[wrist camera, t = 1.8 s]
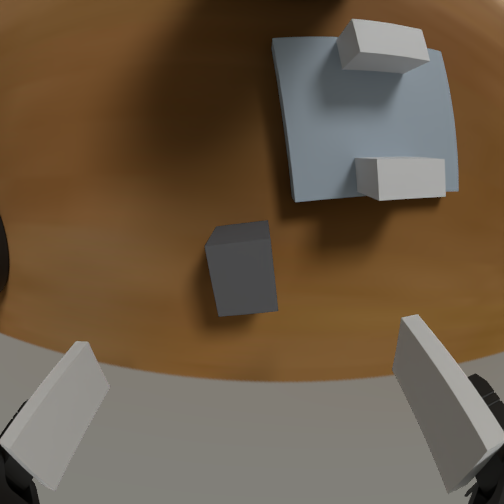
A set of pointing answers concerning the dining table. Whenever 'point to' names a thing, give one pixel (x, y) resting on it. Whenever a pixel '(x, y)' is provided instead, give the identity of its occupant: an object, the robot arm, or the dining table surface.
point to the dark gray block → (242, 269)
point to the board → (366, 114)
